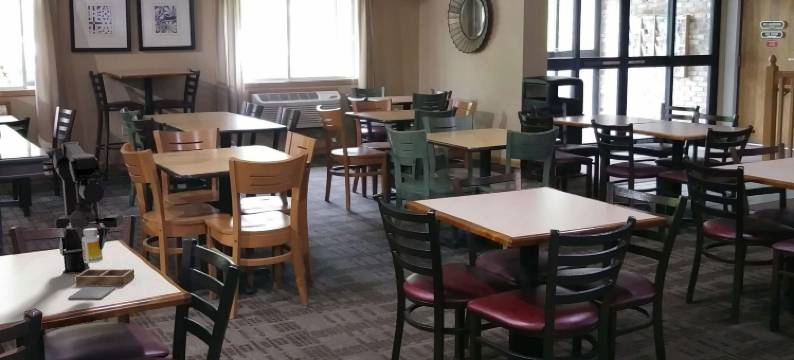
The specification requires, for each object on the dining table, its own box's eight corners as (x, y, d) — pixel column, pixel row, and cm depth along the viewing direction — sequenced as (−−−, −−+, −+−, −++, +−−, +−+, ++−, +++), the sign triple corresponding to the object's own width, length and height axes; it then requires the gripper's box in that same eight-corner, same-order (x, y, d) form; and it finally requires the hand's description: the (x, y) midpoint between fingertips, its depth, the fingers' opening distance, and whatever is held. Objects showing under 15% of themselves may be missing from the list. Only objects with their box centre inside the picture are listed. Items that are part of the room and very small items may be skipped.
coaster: (68, 299, 253) (68, 297, 253) (83, 289, 263) (83, 287, 263) (101, 299, 252) (101, 297, 252) (115, 289, 262) (115, 287, 262)
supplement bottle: (106, 259, 259) (103, 227, 257) (95, 264, 254) (92, 231, 252) (91, 258, 260) (88, 227, 259) (79, 263, 255) (76, 231, 254)
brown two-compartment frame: (76, 285, 267) (75, 276, 267) (87, 277, 275) (87, 269, 275) (124, 285, 266) (123, 276, 265) (134, 277, 274) (133, 269, 273)
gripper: (43, 204, 247) (49, 257, 249) (106, 202, 245) (111, 256, 248) (61, 196, 258) (66, 247, 260) (122, 195, 256) (126, 246, 259)
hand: (92, 249), depth 256 cm, fingers closed on supplement bottle, 5 cm apart
